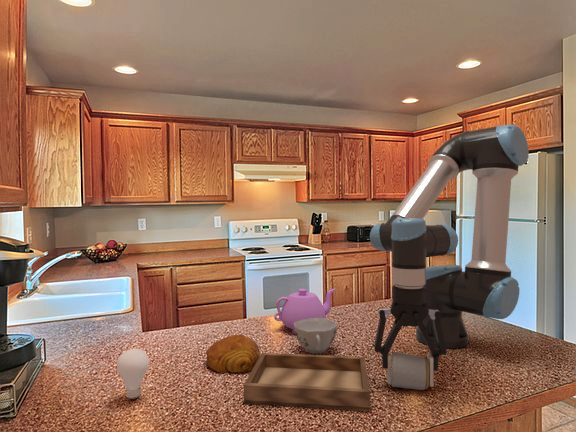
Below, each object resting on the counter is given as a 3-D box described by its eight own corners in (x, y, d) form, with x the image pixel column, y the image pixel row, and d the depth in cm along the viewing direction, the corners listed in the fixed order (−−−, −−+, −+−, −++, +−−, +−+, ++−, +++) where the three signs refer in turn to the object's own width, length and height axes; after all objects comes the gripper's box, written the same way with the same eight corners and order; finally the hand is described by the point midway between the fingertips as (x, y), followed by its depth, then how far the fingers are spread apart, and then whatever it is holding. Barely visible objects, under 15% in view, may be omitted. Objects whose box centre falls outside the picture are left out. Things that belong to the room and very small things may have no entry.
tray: (364, 372, 97) (364, 357, 96) (369, 411, 78) (369, 392, 78) (262, 368, 100) (261, 352, 100) (243, 403, 82) (243, 385, 82)
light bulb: (123, 392, 88) (122, 344, 88) (153, 390, 89) (152, 343, 88) (112, 407, 81) (111, 355, 81) (145, 405, 82) (143, 354, 82)
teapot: (330, 320, 142) (329, 283, 142) (343, 333, 127) (343, 292, 127) (271, 324, 138) (270, 286, 138) (277, 338, 123) (277, 295, 123)
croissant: (255, 358, 113) (255, 330, 114) (263, 373, 98) (263, 340, 99) (205, 361, 110) (205, 333, 111) (205, 377, 95) (205, 343, 96)
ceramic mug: (430, 396, 84) (430, 361, 84) (391, 392, 86) (391, 358, 86) (425, 376, 94) (425, 345, 94) (391, 373, 96) (391, 342, 96)
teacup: (293, 343, 119) (293, 317, 118) (334, 342, 119) (333, 316, 119) (295, 362, 104) (294, 333, 103) (341, 361, 104) (341, 332, 104)
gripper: (452, 282, 91) (453, 377, 91) (361, 281, 94) (362, 373, 94) (462, 289, 83) (463, 393, 84) (362, 288, 86) (363, 387, 87)
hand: (409, 382), depth 89 cm, fingers closed on ceramic mug, 8 cm apart
